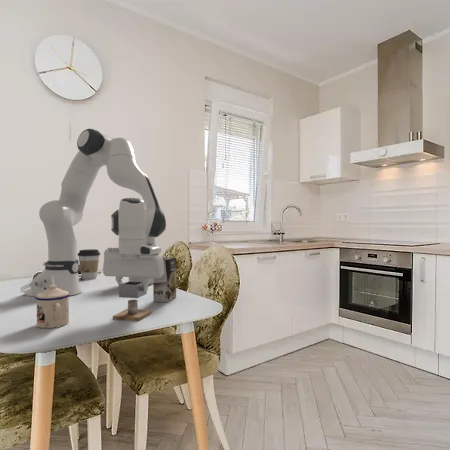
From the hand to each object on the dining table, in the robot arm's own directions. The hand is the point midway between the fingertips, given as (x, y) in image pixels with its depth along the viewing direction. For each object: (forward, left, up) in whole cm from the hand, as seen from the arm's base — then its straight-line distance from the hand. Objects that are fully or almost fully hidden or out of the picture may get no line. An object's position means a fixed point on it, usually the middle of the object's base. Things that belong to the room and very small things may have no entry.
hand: (133, 290), depth 112 cm
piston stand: (0, 0, -8) cm, 8 cm away
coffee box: (+1, +24, -8) cm, 25 cm away
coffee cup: (-57, +59, -8) cm, 82 cm away
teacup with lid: (-18, -14, -8) cm, 25 cm away
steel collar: (0, 0, -2) cm, 2 cm away
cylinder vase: (-23, +52, -8) cm, 57 cm away
